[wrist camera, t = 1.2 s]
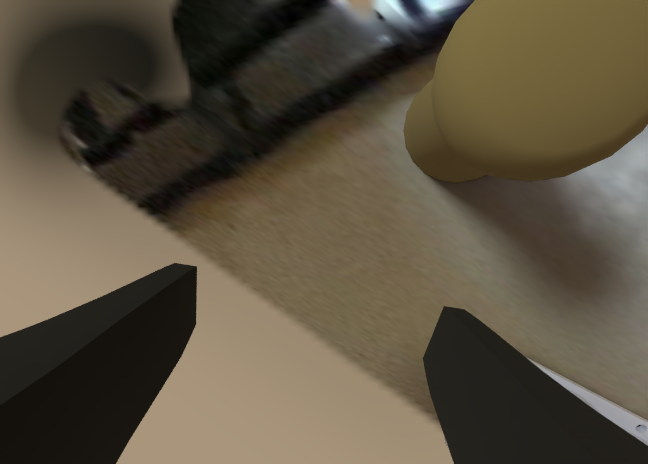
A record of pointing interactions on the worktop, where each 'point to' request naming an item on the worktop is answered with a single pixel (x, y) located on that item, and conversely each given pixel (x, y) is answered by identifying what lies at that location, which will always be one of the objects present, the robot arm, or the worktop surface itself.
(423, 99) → the cork
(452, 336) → the robot arm
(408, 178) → the worktop surface
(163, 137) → the worktop surface
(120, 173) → the worktop surface
